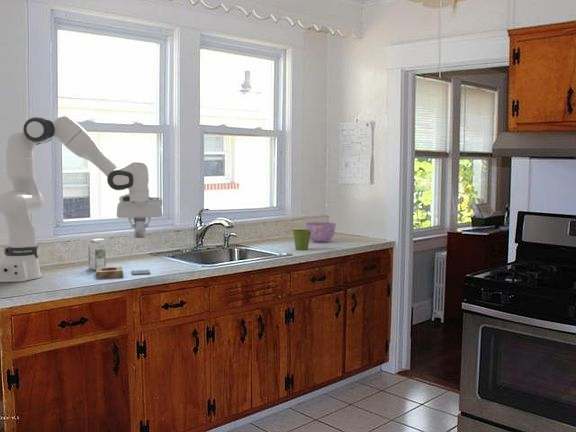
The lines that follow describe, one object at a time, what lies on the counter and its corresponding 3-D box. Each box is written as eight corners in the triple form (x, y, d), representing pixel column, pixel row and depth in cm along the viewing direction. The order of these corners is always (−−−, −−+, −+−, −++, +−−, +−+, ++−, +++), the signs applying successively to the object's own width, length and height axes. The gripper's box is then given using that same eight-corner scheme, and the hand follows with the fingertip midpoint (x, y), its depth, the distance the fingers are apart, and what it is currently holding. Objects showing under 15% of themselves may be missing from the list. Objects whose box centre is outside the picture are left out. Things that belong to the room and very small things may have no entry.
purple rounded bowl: (309, 239, 391) (309, 221, 390) (338, 240, 386) (338, 222, 385) (301, 243, 372) (302, 224, 371) (332, 244, 367) (333, 225, 366)
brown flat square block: (96, 278, 258) (96, 272, 258) (96, 274, 269) (96, 267, 269) (122, 277, 262) (122, 270, 261) (121, 272, 272) (121, 266, 272)
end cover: (134, 238, 266) (133, 218, 266) (133, 236, 272) (132, 217, 271) (146, 237, 268) (146, 218, 267) (145, 236, 273) (145, 217, 273)
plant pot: (298, 251, 337) (298, 232, 336) (288, 248, 347) (288, 229, 346) (315, 249, 343) (315, 230, 342) (305, 247, 353) (305, 228, 352)
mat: (132, 275, 267) (132, 273, 266) (131, 272, 274) (131, 270, 274) (150, 274, 269) (150, 272, 269) (148, 271, 277) (148, 269, 277)
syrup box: (99, 267, 287) (98, 237, 285) (106, 268, 283) (105, 238, 282) (88, 268, 282) (87, 238, 281) (95, 270, 279) (94, 240, 277)
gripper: (161, 196, 275) (162, 225, 276) (116, 197, 268) (116, 227, 269) (162, 197, 269) (163, 227, 270) (116, 198, 262) (117, 228, 263)
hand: (139, 227), depth 270 cm, fingers closed on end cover, 5 cm apart
